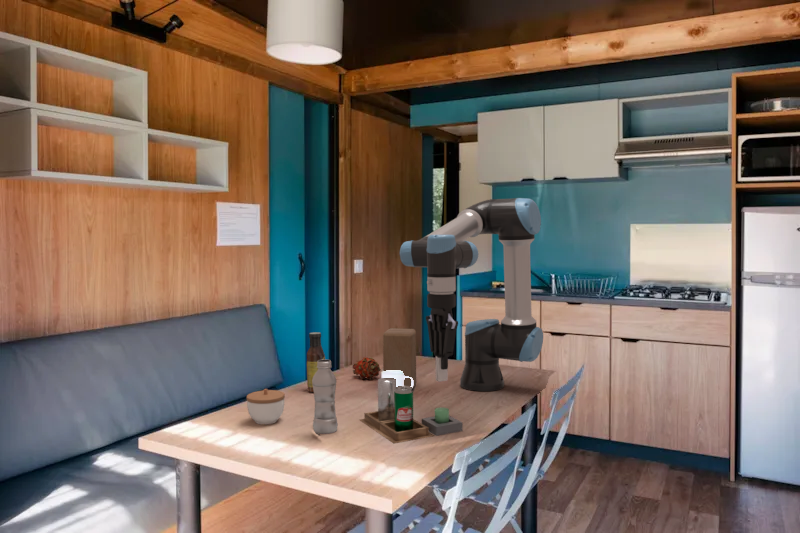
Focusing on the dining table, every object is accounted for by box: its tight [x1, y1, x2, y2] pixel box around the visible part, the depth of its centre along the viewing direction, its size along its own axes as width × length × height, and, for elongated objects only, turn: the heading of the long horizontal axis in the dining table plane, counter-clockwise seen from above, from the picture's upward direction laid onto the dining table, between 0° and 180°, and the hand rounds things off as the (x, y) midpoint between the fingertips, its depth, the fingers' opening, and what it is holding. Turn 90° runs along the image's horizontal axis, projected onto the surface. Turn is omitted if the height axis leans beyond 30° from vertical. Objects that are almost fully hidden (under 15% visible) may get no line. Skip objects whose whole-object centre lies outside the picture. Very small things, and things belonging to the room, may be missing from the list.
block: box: [382, 327, 417, 387], centre depth 213 cm, size 10×10×20 cm
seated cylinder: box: [377, 377, 396, 421], centre depth 171 cm, size 5×5×12 cm
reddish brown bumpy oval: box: [352, 356, 381, 380], centre depth 227 cm, size 8×8×12 cm
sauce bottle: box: [306, 331, 326, 393], centre depth 209 cm, size 7×6×20 cm
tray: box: [359, 410, 435, 444], centre depth 167 cm, size 12×22×3 cm, turn 27°
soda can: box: [394, 386, 414, 432], centre depth 162 cm, size 5×5×12 cm
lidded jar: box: [246, 388, 286, 425], centre depth 176 cm, size 11×11×9 cm
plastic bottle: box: [312, 358, 339, 436], centre depth 164 cm, size 6×7×20 cm
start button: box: [434, 406, 450, 424], centre depth 165 cm, size 4×4×3 cm
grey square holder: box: [421, 415, 464, 437], centre depth 165 cm, size 8×8×4 cm
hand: (441, 380), depth 164 cm, fingers closed
